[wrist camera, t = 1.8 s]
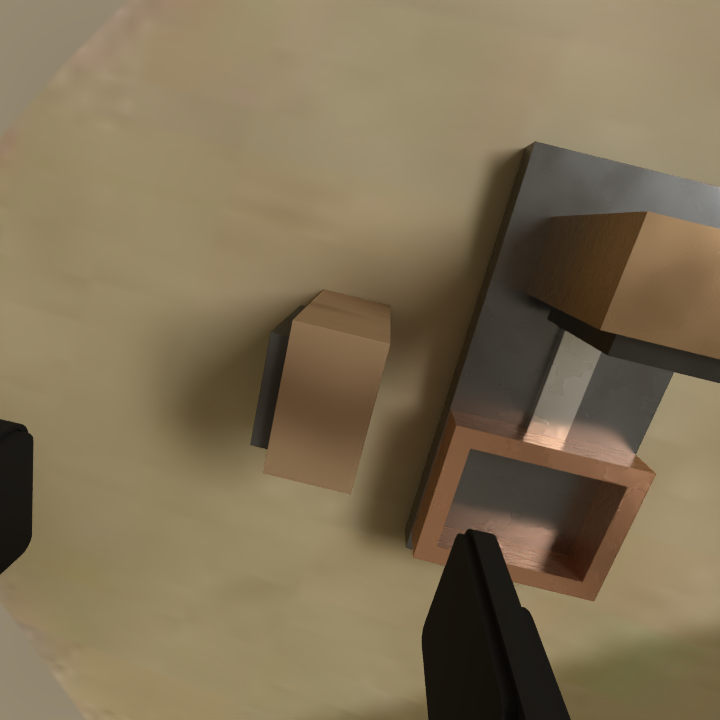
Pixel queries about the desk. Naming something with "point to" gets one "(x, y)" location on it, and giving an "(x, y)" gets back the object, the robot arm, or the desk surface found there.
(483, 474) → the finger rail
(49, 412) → the desk surface
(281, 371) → the small cardboard box
